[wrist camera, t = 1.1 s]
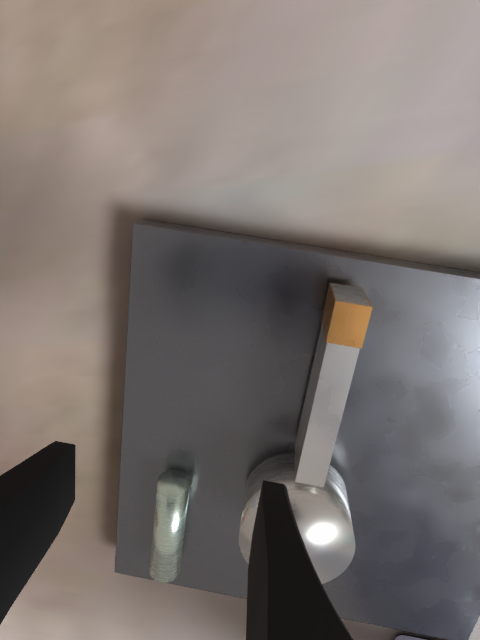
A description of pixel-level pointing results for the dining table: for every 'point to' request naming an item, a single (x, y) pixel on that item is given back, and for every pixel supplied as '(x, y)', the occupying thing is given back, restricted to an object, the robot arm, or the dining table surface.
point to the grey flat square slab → (285, 414)
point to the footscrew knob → (319, 442)
